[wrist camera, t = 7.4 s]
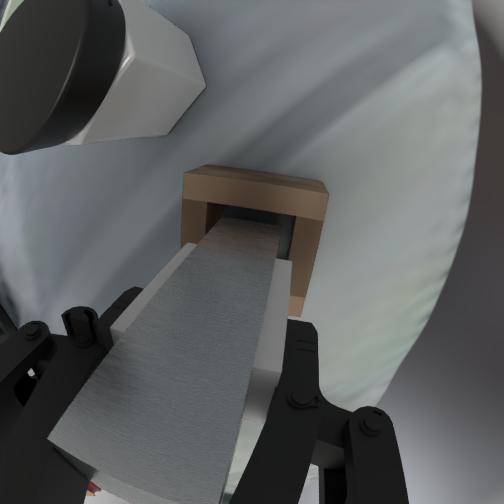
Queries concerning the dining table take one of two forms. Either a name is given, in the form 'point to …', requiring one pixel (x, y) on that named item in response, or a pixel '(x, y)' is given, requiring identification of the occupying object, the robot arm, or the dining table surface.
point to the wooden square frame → (262, 198)
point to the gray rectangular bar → (178, 377)
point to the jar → (91, 74)
